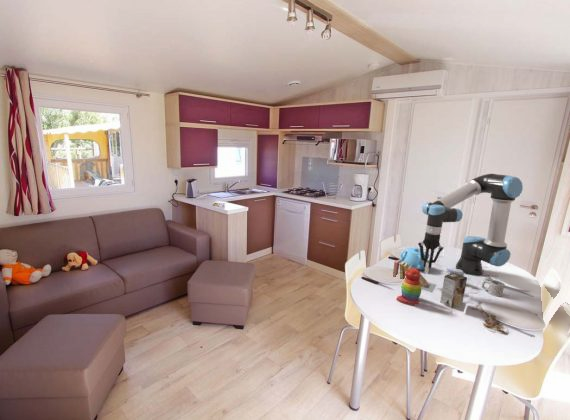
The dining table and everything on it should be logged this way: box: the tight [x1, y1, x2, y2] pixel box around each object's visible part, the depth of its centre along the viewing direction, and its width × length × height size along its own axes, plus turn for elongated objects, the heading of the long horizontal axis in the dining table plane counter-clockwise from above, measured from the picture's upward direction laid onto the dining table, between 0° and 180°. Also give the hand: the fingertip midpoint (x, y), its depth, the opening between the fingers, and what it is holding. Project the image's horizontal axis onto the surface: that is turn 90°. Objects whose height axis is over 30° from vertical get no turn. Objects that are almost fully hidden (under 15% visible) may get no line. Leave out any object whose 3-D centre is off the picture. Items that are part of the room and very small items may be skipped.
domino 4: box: [419, 274, 428, 287], centre depth 172 cm, size 2×5×10 cm
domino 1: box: [392, 259, 400, 277], centre depth 180 cm, size 2×5×10 cm, turn 143°
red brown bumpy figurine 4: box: [399, 261, 405, 279], centre depth 178 cm, size 2×5×10 cm, turn 143°
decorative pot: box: [399, 246, 430, 271], centre depth 198 cm, size 16×16×14 cm
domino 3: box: [403, 263, 409, 272], centre depth 176 cm, size 2×5×10 cm, turn 143°
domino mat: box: [421, 281, 437, 293], centre depth 176 cm, size 26×12×1 cm, turn 53°
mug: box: [481, 279, 506, 298], centre depth 169 cm, size 10×7×7 cm, turn 47°
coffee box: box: [439, 273, 468, 309], centre depth 152 cm, size 9×6×16 cm
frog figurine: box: [482, 314, 510, 336], centre depth 137 cm, size 12×12×4 cm
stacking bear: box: [395, 268, 422, 306], centre depth 154 cm, size 11×10×18 cm
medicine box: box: [445, 268, 465, 276], centre depth 177 cm, size 8×4×9 cm, turn 84°
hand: (426, 272), depth 170 cm, fingers closed
